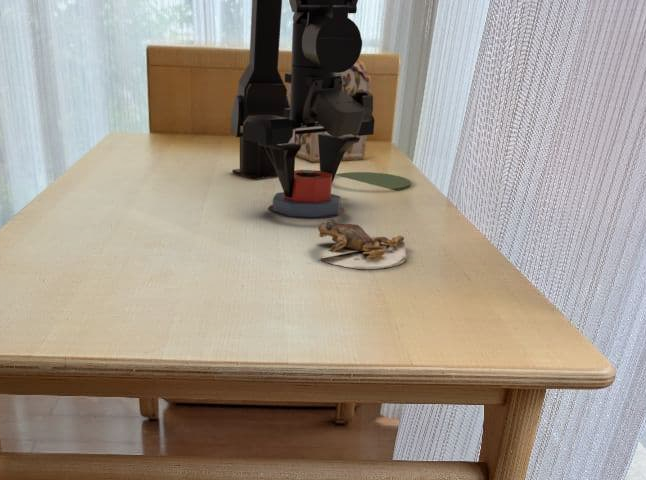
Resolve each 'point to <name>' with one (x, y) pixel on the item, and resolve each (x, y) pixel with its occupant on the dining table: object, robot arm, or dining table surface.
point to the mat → (379, 179)
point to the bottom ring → (306, 207)
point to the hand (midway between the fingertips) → (307, 194)
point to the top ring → (311, 187)
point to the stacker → (341, 211)
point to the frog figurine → (362, 247)
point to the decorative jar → (309, 150)
